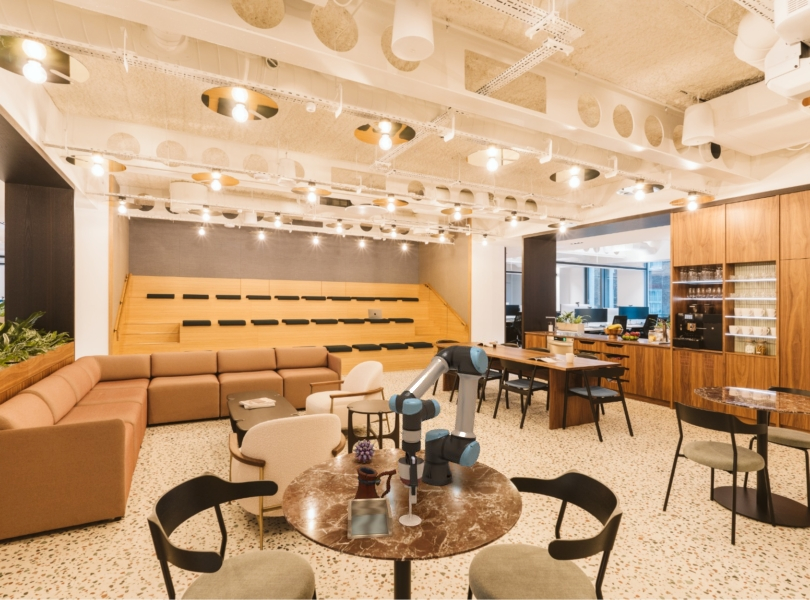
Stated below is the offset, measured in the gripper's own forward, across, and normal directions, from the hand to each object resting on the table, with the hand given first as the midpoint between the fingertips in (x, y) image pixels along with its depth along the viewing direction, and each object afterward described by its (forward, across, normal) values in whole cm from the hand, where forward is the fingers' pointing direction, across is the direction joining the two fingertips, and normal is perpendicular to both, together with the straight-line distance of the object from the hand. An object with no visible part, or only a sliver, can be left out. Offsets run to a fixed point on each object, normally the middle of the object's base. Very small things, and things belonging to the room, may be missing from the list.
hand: (410, 494), depth 159 cm
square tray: (+10, +3, -16) cm, 19 cm away
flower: (+10, -60, -16) cm, 63 cm away
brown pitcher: (+10, -14, -13) cm, 22 cm away
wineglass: (+10, 0, 0) cm, 10 cm away
